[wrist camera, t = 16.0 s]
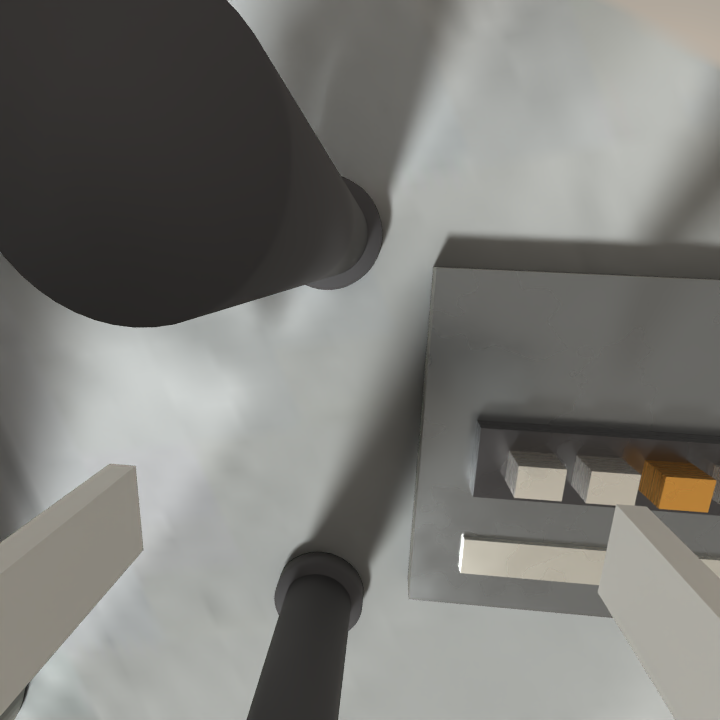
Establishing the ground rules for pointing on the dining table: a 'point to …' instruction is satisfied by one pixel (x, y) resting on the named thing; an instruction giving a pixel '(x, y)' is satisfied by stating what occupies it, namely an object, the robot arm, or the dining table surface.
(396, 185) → the dining table surface
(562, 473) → the breaker panel
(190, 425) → the dining table surface
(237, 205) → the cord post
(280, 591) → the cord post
